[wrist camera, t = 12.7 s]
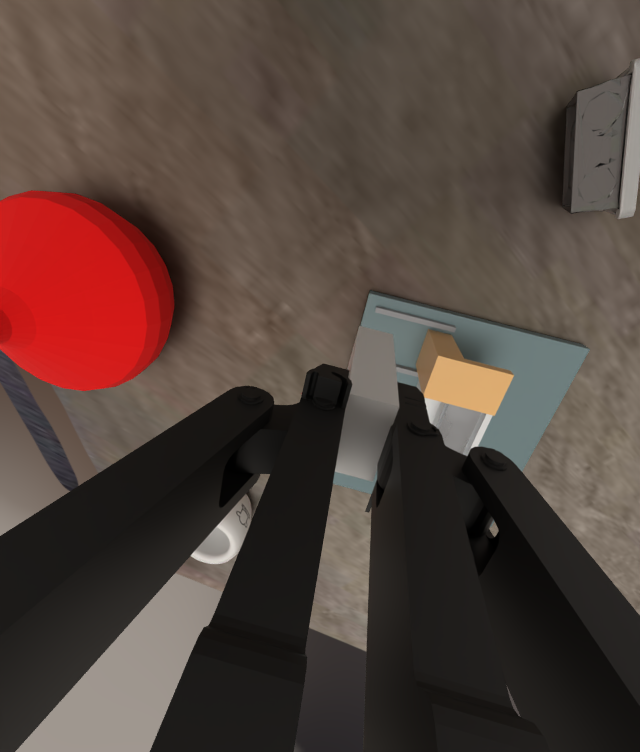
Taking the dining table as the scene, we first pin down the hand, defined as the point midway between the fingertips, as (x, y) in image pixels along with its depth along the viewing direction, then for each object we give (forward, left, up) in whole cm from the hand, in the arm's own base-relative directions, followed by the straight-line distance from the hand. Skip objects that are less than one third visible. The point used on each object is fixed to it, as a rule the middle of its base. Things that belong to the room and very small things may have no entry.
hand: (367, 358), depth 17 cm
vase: (+8, -27, -25) cm, 37 cm away
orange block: (+6, +10, -23) cm, 26 cm away
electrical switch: (-13, +14, -25) cm, 31 cm away
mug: (+33, -12, -25) cm, 43 cm away
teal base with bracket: (+14, +11, -24) cm, 30 cm away
